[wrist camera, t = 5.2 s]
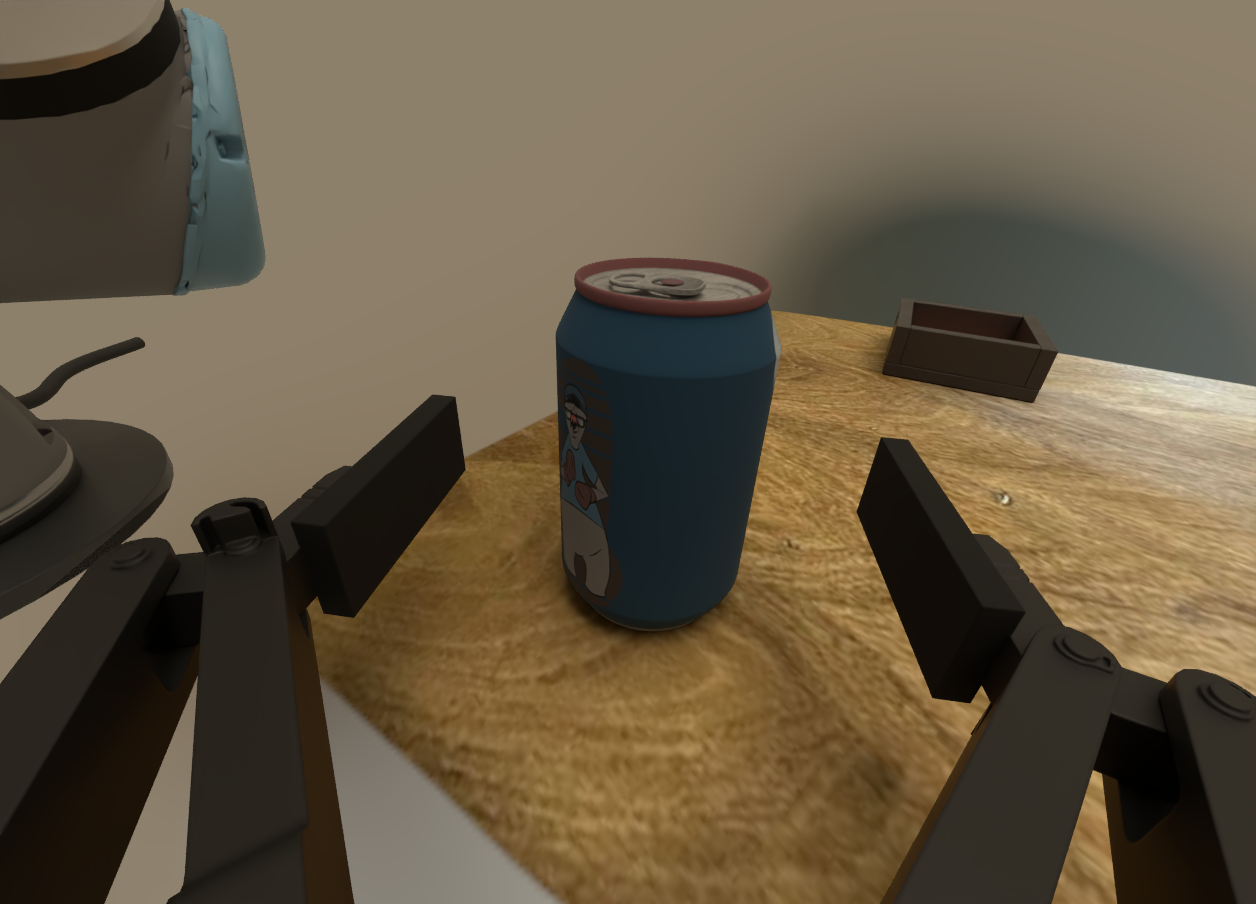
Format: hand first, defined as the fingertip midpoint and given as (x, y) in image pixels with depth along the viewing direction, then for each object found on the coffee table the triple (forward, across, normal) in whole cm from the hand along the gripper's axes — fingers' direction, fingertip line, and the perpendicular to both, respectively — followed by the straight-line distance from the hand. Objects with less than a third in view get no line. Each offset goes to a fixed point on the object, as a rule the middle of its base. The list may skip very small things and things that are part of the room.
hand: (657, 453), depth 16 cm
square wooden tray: (+31, +23, -7) cm, 40 cm away
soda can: (+2, 0, -7) cm, 7 cm away
